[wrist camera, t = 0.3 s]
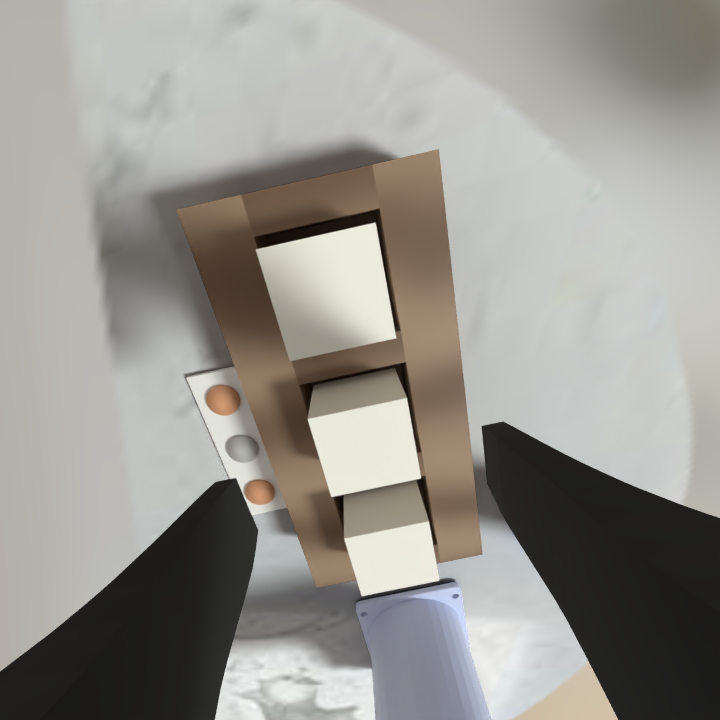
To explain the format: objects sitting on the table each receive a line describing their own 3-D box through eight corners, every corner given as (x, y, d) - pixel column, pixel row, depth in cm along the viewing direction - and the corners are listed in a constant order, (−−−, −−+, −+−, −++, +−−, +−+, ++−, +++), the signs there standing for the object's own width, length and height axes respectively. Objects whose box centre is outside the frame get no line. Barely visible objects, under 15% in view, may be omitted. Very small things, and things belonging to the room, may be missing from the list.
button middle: (407, 437, 18) (421, 478, 15) (332, 452, 18) (331, 497, 15) (394, 367, 16) (406, 398, 13) (313, 385, 16) (307, 419, 13)
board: (462, 510, 23) (482, 554, 20) (320, 539, 23) (316, 587, 20) (418, 166, 16) (438, 149, 12) (209, 214, 16) (176, 209, 13)
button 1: (385, 318, 15) (396, 338, 12) (299, 336, 15) (289, 361, 12) (367, 225, 14) (375, 222, 11) (273, 246, 14) (255, 249, 11)
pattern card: (291, 503, 22) (290, 509, 21) (247, 512, 22) (245, 518, 21) (241, 364, 18) (238, 367, 18) (188, 375, 18) (184, 379, 18)
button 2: (424, 528, 20) (439, 580, 17) (358, 542, 20) (361, 596, 17) (414, 474, 18) (428, 521, 15) (343, 489, 18) (344, 538, 16)
